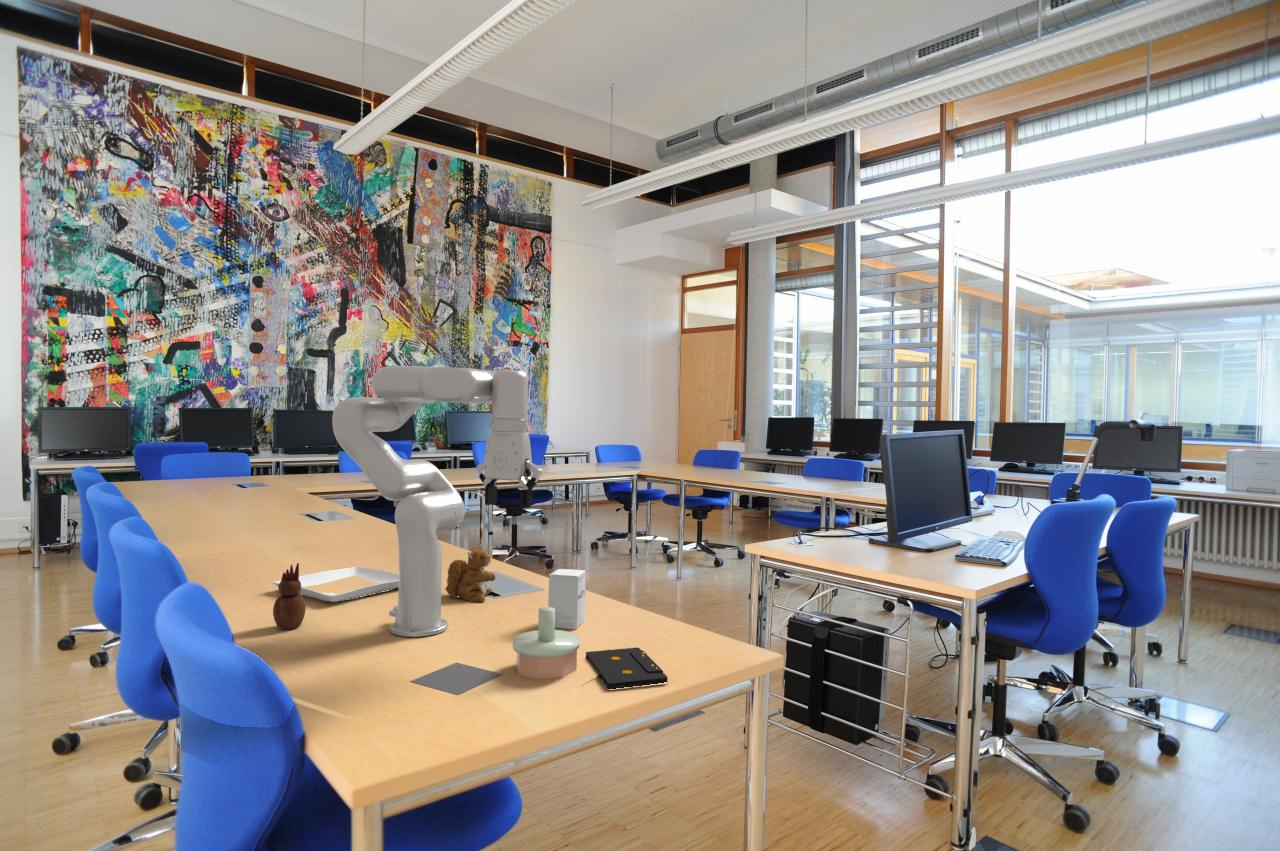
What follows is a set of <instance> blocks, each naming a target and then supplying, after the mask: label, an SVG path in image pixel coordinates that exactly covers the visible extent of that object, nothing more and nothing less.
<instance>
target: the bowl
mask: <svg viewBox="0 0 1280 851" xmlns="http://www.w3.org/2000/svg"><path fill="white" fill-rule="evenodd" d="M577 655H578V649H577V650H576V651H574V652H572V653H569V654H565V655H561V656H553V657H534V656H527V655H523V654H520V653H518V652H516V669H517V672H518V675H519V676H522V677H527V678H530V679H534V680H551V679H563V678H565V677H566V676H567V677H568V675H571V674H573V673H575V672H577V667H578V666H577V665H578V664H577V663H578V660H577V659H578V656H577Z"/></svg>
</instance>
